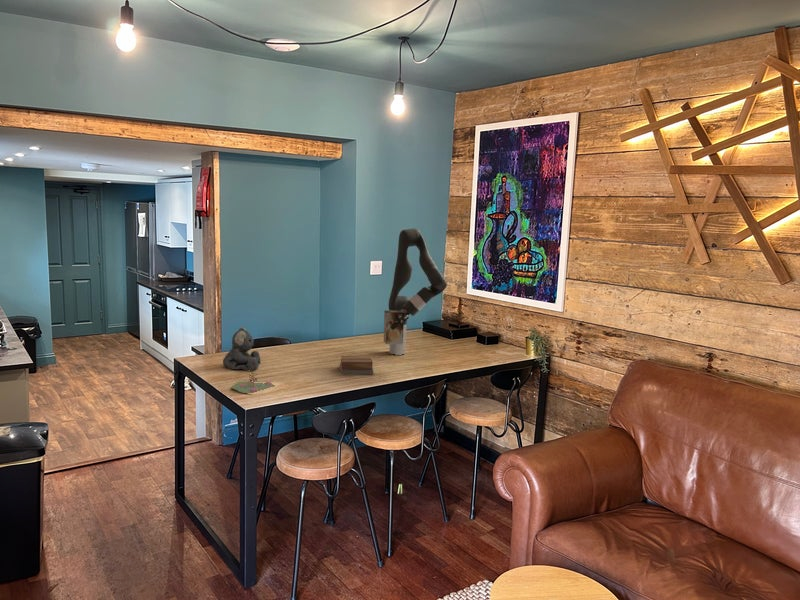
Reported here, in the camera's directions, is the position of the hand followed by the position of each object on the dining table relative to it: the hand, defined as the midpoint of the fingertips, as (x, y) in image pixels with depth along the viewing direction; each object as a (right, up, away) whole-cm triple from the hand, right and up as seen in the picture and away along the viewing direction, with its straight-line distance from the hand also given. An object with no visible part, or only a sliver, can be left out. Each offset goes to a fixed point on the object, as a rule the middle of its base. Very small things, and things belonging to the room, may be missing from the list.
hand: (390, 327), depth 302 cm
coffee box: (+1, -8, +2) cm, 8 cm away
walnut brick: (-17, -20, 0) cm, 26 cm away
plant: (-58, -26, -35) cm, 72 cm away
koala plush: (-74, -20, -4) cm, 77 cm away
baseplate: (-17, -22, 0) cm, 28 cm away
